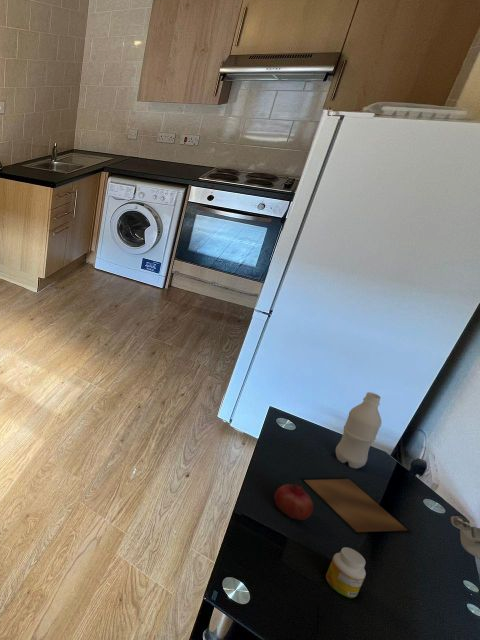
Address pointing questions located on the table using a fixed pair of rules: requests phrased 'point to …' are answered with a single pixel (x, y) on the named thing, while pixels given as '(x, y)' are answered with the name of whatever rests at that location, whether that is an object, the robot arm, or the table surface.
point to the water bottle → (360, 432)
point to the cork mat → (354, 506)
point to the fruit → (294, 501)
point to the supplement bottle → (346, 572)
